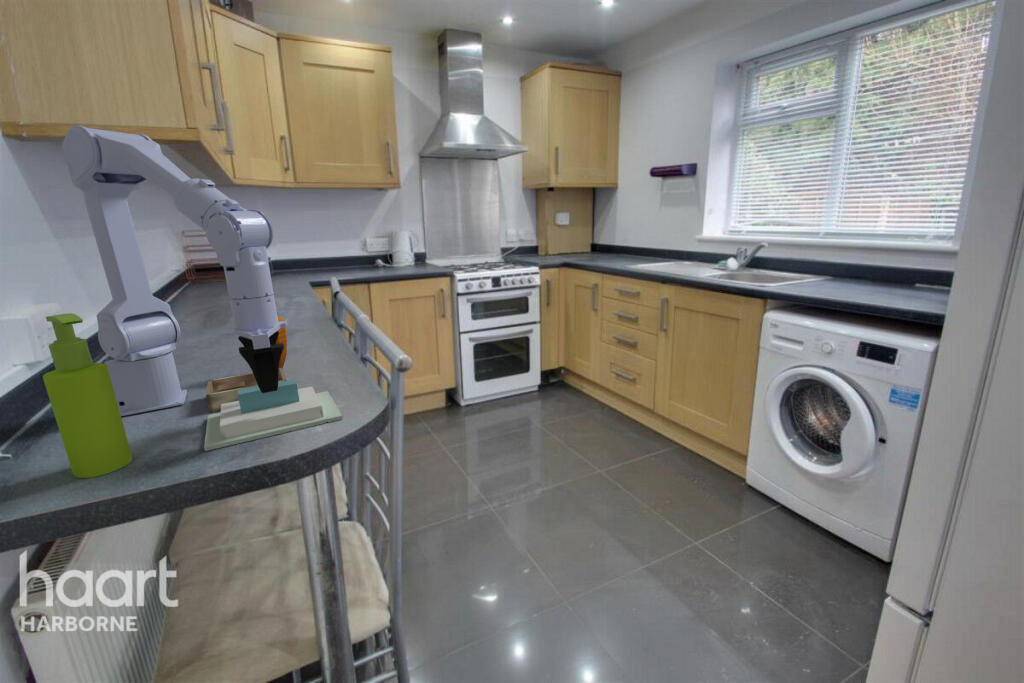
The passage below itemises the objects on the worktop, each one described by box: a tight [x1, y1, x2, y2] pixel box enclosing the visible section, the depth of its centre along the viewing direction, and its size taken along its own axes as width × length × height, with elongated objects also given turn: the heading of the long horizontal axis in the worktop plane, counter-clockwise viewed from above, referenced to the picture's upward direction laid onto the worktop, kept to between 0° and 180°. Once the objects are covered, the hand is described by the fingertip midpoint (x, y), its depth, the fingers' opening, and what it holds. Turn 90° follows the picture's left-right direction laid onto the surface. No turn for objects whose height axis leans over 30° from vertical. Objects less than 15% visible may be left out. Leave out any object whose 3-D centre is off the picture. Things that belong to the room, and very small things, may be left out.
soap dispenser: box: [42, 313, 133, 479], centre depth 58 cm, size 6×7×20 cm
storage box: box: [205, 368, 288, 413], centre depth 83 cm, size 12×9×3 cm
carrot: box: [275, 301, 288, 369], centre depth 96 cm, size 5×5×15 cm
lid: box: [220, 379, 324, 439], centre depth 72 cm, size 13×10×5 cm
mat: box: [203, 390, 343, 452], centre depth 73 cm, size 18×13×1 cm
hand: (267, 384), depth 72 cm, fingers open, 7 cm apart
